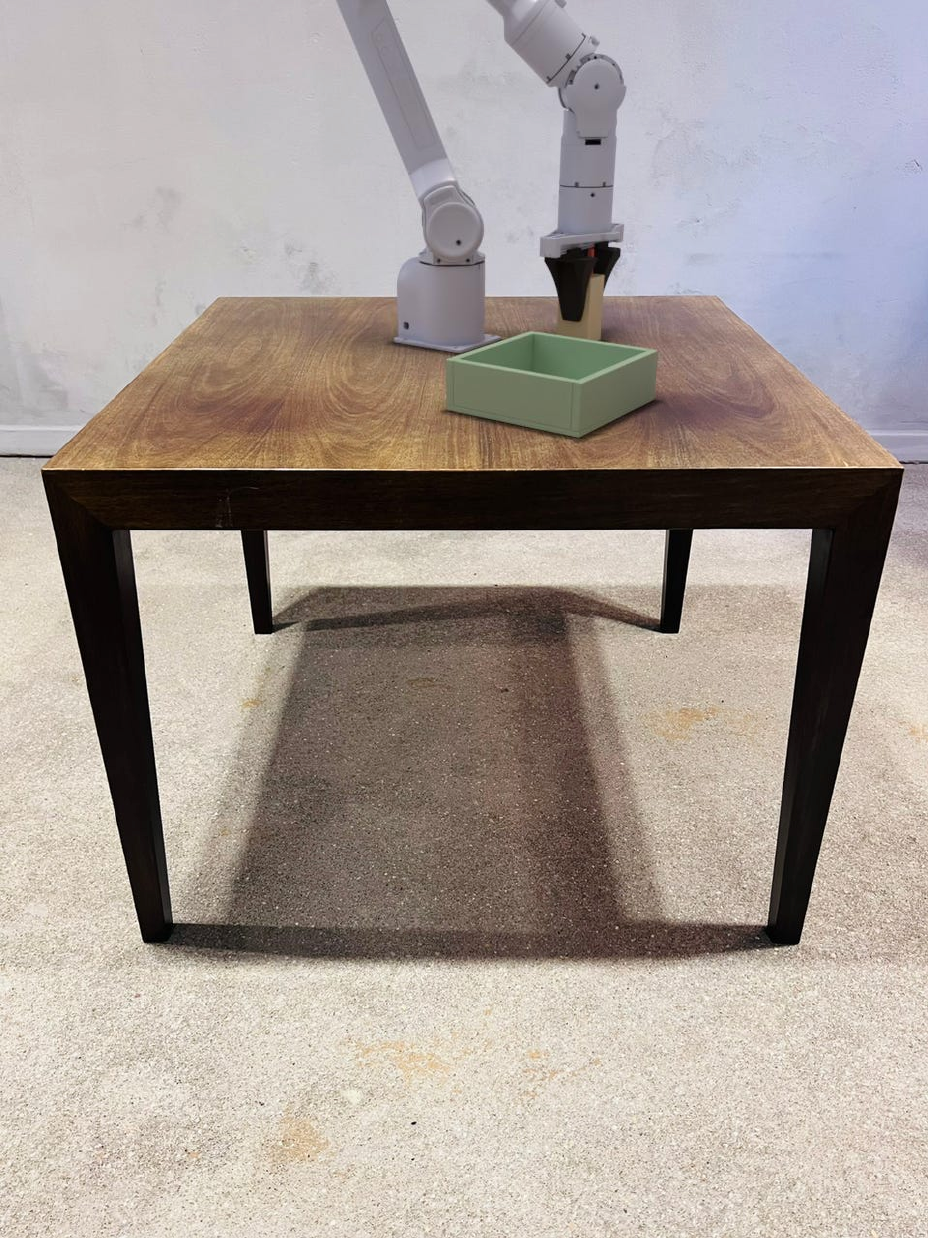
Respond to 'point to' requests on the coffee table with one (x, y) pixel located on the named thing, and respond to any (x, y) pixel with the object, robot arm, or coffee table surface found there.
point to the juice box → (586, 311)
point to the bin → (551, 382)
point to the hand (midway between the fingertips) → (579, 317)
